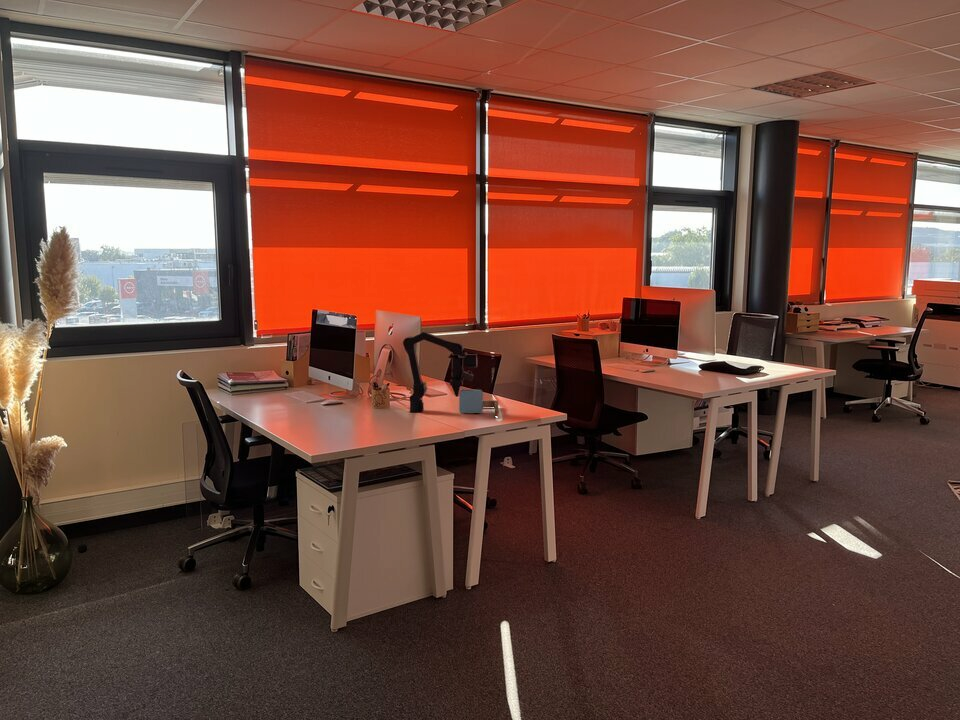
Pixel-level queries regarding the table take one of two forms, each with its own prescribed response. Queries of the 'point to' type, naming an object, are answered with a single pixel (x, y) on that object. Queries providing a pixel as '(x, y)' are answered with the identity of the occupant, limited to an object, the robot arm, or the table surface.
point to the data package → (470, 401)
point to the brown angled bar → (491, 405)
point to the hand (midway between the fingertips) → (456, 396)
